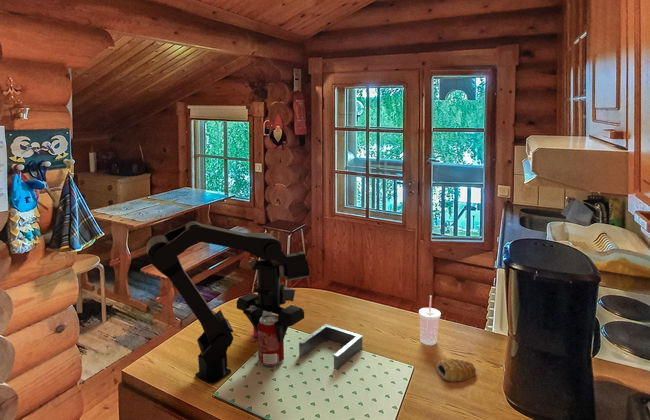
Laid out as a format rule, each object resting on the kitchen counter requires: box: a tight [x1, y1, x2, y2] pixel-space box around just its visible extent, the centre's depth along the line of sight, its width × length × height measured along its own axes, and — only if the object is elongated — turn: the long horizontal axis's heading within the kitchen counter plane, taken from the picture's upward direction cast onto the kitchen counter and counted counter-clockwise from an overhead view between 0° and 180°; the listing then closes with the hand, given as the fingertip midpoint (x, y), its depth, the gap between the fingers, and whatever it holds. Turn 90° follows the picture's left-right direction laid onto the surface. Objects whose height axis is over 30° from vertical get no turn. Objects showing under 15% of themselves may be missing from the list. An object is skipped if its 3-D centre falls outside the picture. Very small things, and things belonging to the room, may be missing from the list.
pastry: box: [436, 358, 477, 383], centre depth 111 cm, size 9×7×4 cm
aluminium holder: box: [298, 323, 363, 371], centre depth 121 cm, size 13×12×4 cm
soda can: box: [257, 314, 285, 367], centre depth 116 cm, size 7×7×12 cm
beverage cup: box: [418, 295, 442, 346], centre depth 125 cm, size 6×6×14 cm
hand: (270, 338), depth 116 cm, fingers open, 7 cm apart
